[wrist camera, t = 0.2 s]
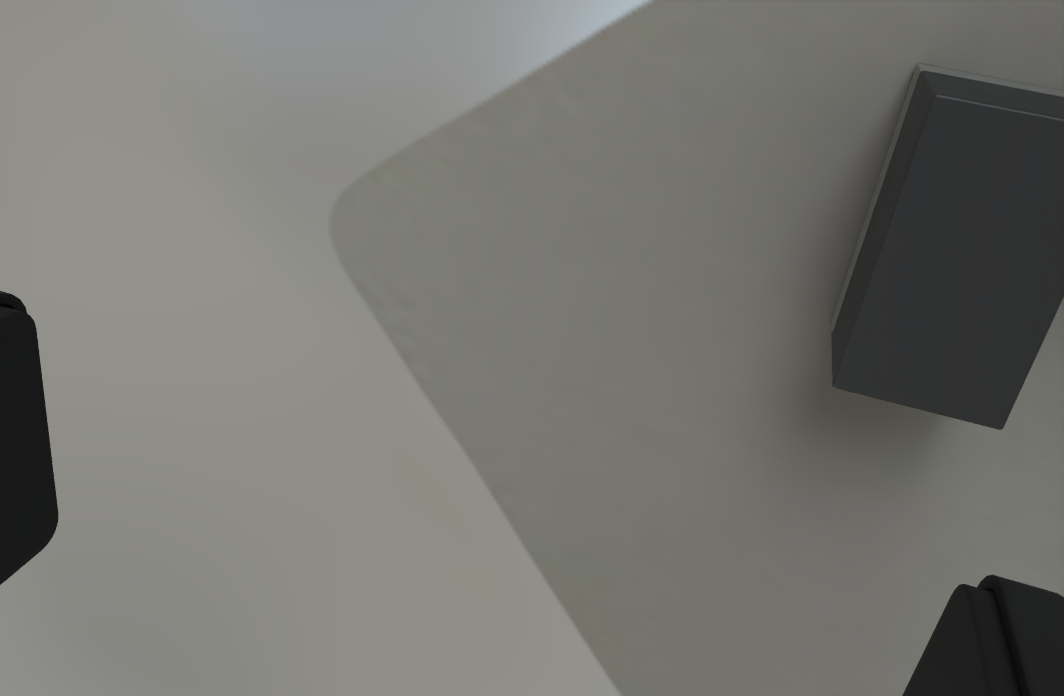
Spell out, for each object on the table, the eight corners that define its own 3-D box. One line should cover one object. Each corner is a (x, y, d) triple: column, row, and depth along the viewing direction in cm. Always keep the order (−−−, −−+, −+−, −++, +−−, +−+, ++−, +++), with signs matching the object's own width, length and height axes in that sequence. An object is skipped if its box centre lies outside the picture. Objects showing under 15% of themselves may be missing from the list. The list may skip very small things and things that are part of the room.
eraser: (916, 62, 28) (933, 93, 24) (1089, 95, 27) (1140, 133, 23) (830, 322, 32) (831, 388, 28) (977, 358, 31) (1002, 431, 27)
